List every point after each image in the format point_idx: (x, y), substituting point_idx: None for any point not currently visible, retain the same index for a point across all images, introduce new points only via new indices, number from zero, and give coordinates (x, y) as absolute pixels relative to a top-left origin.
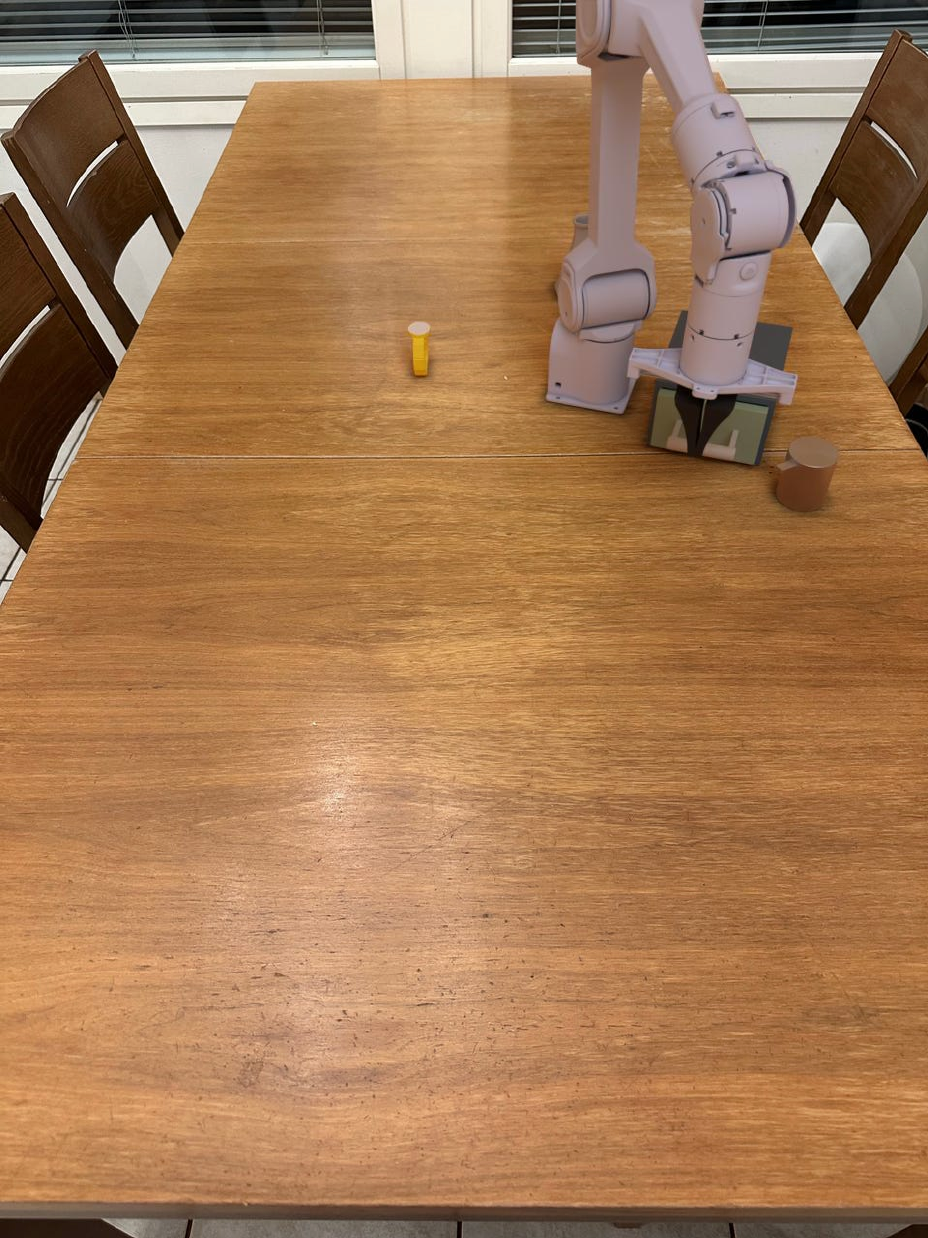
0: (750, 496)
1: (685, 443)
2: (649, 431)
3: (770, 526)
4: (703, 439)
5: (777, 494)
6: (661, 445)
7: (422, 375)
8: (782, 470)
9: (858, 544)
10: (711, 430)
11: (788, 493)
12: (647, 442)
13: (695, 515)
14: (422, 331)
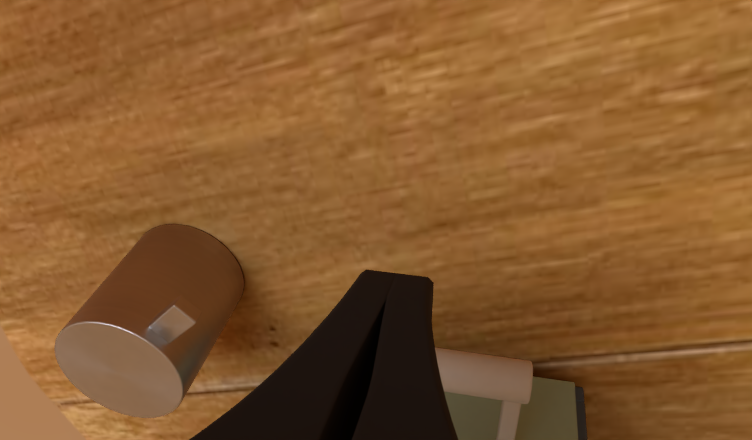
0: (294, 254)
1: (472, 378)
2: (582, 421)
3: (220, 162)
4: (332, 343)
5: (232, 264)
6: (543, 382)
7: None
8: (173, 304)
9: (19, 143)
10: (269, 394)
11: (192, 260)
12: (581, 391)
13: (417, 165)
14: None
